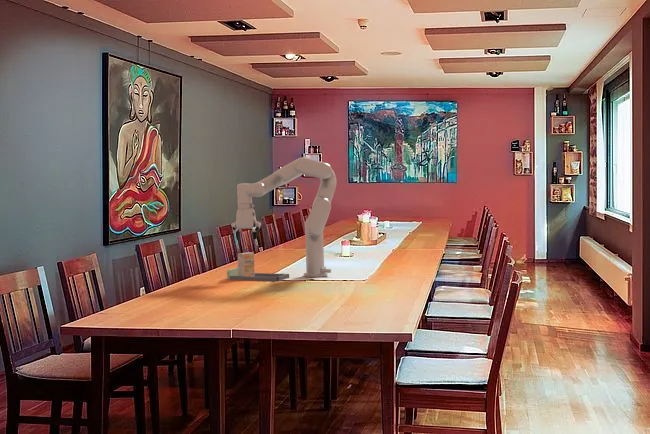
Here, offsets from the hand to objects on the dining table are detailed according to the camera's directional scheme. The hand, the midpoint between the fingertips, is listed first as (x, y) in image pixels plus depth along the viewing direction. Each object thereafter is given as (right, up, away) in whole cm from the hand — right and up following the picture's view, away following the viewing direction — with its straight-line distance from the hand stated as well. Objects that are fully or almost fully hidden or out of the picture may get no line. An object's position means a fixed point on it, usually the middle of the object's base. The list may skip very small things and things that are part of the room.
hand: (246, 239), depth 410 cm
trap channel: (+7, -21, -2) cm, 22 cm away
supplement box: (0, -20, +1) cm, 20 cm away
